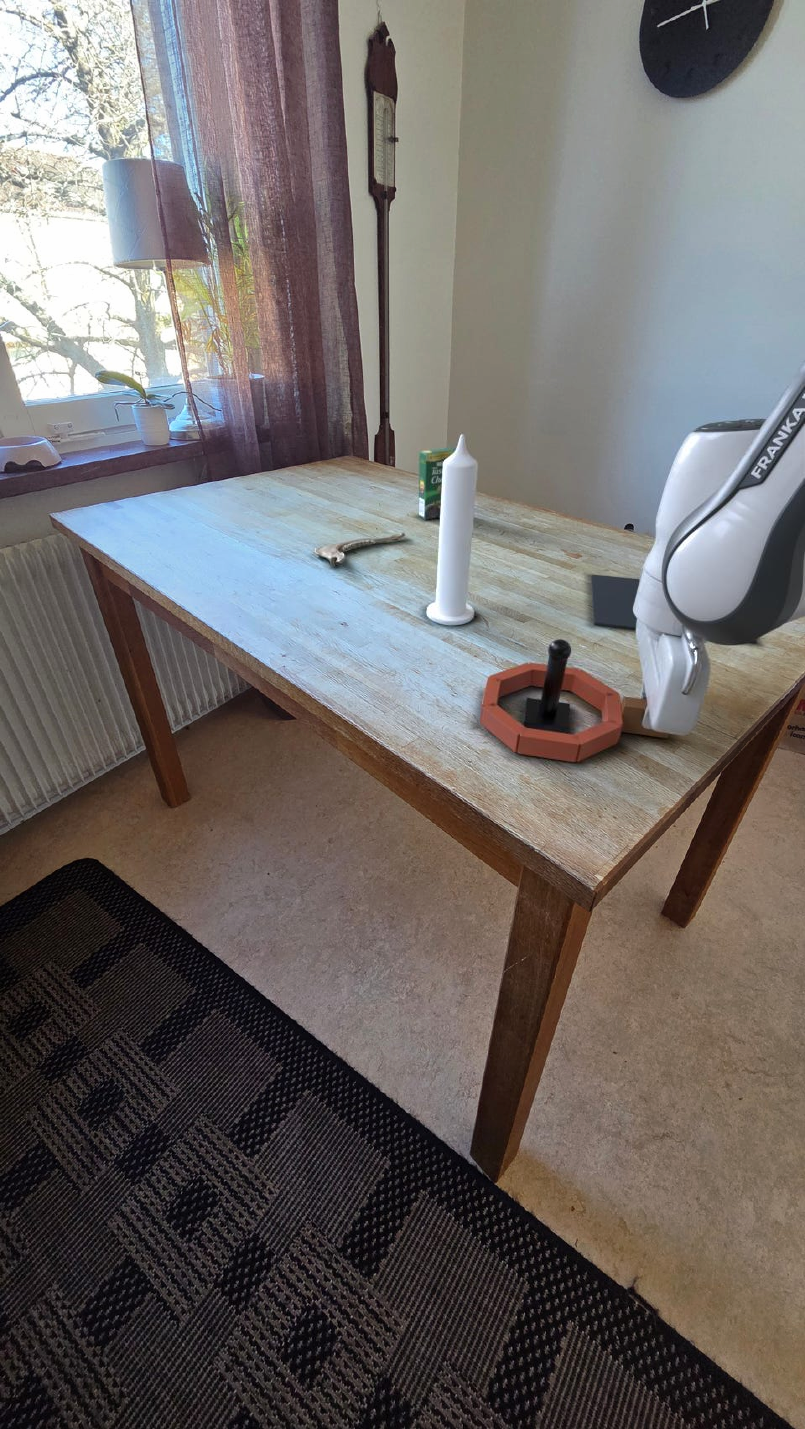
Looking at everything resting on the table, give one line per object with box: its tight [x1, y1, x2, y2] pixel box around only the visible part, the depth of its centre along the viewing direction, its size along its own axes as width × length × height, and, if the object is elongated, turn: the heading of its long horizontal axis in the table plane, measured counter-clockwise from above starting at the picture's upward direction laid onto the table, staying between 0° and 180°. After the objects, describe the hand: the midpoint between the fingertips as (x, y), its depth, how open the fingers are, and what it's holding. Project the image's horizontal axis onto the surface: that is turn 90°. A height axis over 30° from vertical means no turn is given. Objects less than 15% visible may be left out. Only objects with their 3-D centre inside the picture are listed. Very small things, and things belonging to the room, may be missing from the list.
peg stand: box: [523, 638, 572, 734], centre depth 66 cm, size 5×5×10 cm
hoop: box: [479, 662, 671, 763], centre depth 68 cm, size 21×15×4 cm
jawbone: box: [313, 532, 406, 568], centre depth 110 cm, size 9×20×2 cm, turn 147°
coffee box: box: [417, 446, 457, 521], centre depth 123 cm, size 8×3×13 cm, turn 118°
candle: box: [426, 433, 479, 626], centre depth 83 cm, size 7×7×25 cm
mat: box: [590, 574, 757, 644], centre depth 93 cm, size 22×18×1 cm
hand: (648, 716), depth 66 cm, fingers closed on hoop, 2 cm apart
